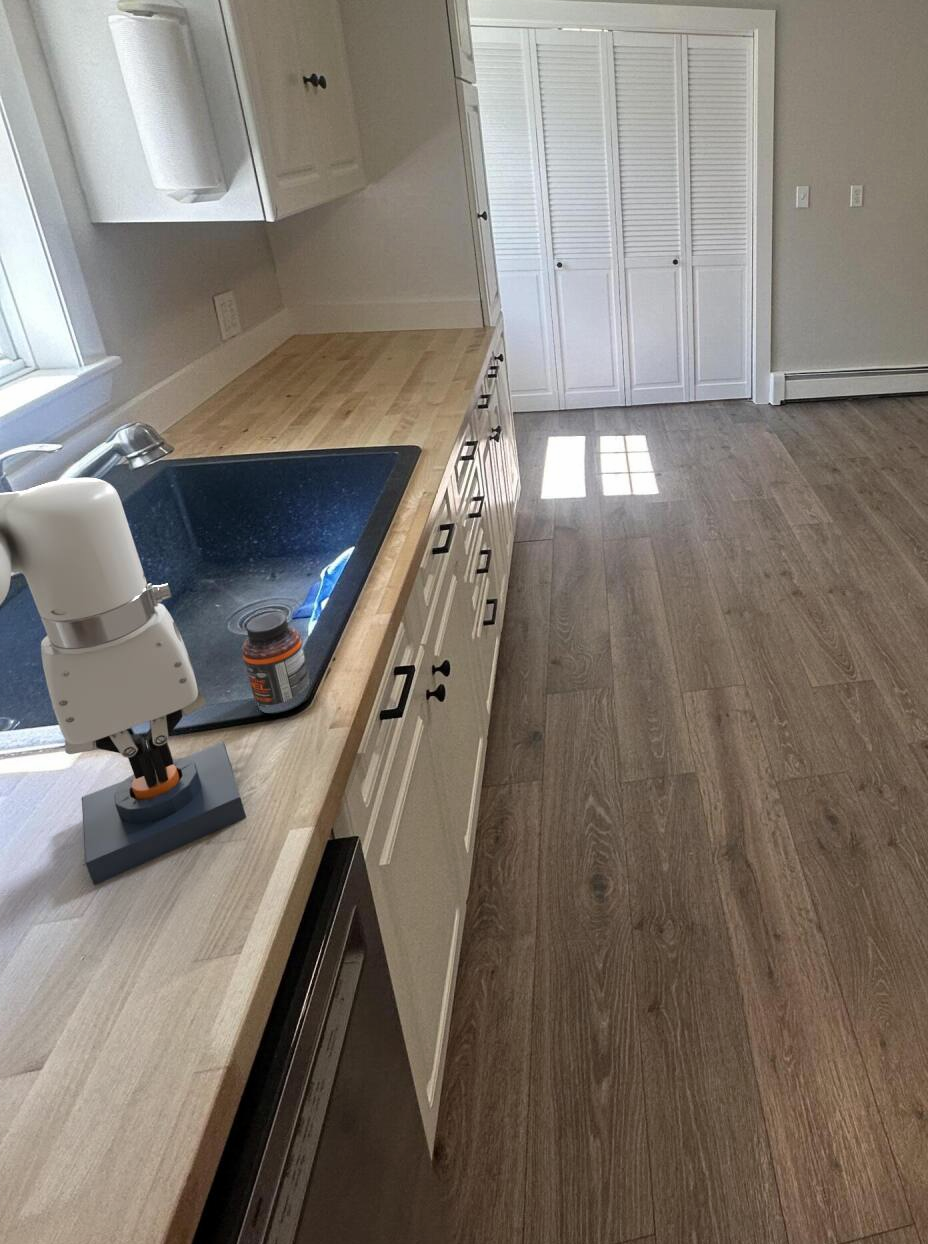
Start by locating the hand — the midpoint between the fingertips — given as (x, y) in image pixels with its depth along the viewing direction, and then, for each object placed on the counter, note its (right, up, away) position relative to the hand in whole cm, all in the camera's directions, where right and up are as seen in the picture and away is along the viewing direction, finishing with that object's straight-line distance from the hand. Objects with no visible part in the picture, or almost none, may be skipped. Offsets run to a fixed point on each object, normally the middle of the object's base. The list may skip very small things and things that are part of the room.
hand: (156, 775), depth 77 cm
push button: (0, -2, +1) cm, 2 cm away
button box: (0, -5, +2) cm, 5 cm away
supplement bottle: (+2, +1, +18) cm, 18 cm away
